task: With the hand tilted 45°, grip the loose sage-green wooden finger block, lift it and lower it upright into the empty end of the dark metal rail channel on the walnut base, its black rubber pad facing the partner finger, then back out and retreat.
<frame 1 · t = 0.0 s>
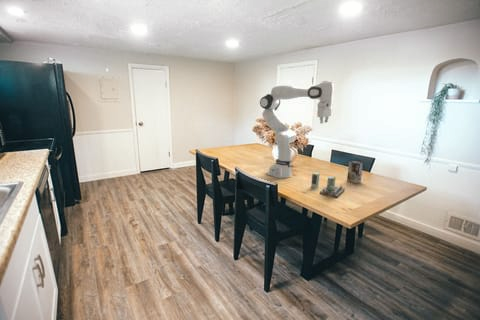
hand: (323, 122, 185), 48 cm above the table, tool pointing down, fingers open, 8 cm apart
rail base: (332, 192, 179), on the table
finger block: (314, 186, 188), on the table
coffee box: (353, 181, 203), on the table
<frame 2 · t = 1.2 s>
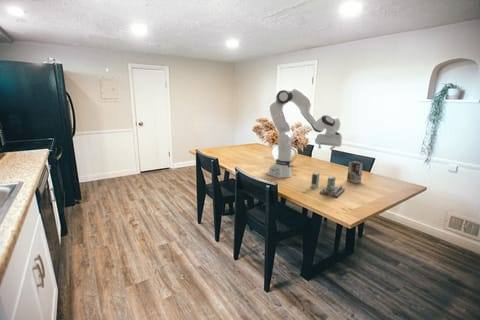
hand: (325, 148, 193), 27 cm above the table, tool tilted 45°, fingers open, 8 cm apart
nothing on the table moved.
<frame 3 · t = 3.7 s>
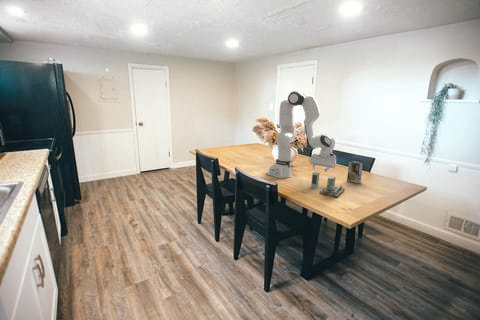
hand: (319, 170, 190), 12 cm above the table, tool tilted 45°, fingers open, 8 cm apart
nothing on the table moved.
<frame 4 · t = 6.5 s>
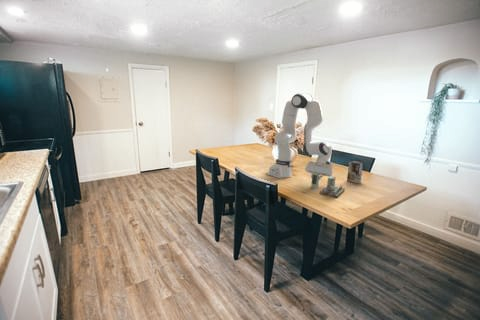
hand: (315, 178, 186), 7 cm above the table, tool tilted 45°, fingers closed on finger block, 4 cm apart
finger block: (314, 186, 188), on the table, touching gripper
everything else where it was.
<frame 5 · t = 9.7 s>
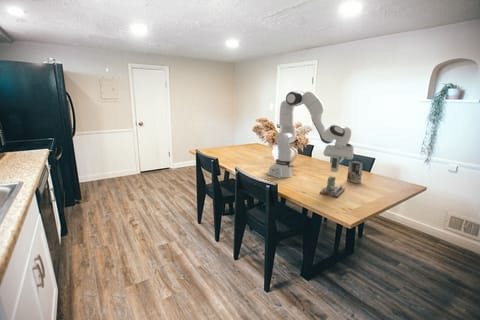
hand: (335, 161, 175), 22 cm above the table, tool tilted 45°, fingers closed on finger block, 4 cm apart
finger block: (334, 171, 177), point 15 cm above the table, touching gripper
everything else where it was.
when the fingers open (10 cm above the table, at t = 13.2 s): finger block drops 1 cm, resting on rail base.
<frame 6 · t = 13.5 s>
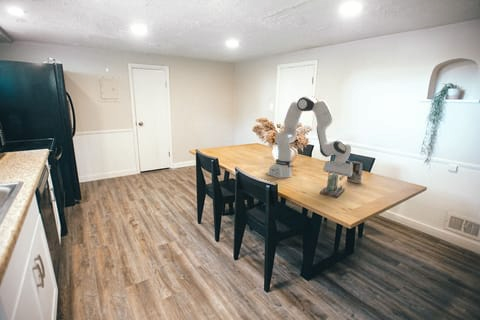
hand: (334, 178, 177), 10 cm above the table, tool tilted 45°, fingers open, 7 cm apart
finger block: (333, 189, 180), point 2 cm above the table, touching rail base
everything else where it was.
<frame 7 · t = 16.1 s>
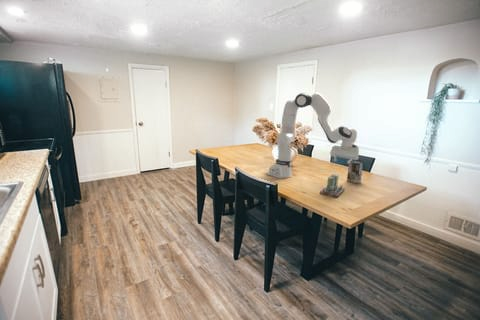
hand: (341, 162, 185), 20 cm above the table, tool tilted 45°, fingers open, 8 cm apart
nothing on the table moved.
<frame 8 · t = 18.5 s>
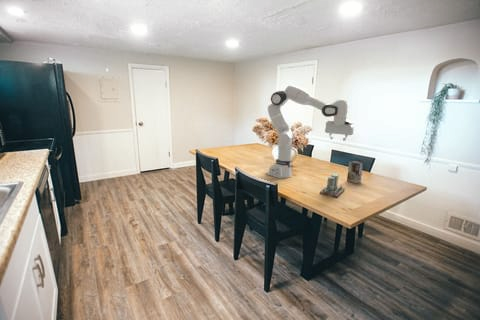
hand: (337, 139, 189), 35 cm above the table, tool pointing down, fingers open, 8 cm apart
nothing on the table moved.
at the end: finger block 0.7 cm from the target spot on the rail base, point 1.5 cm above the rail base's base; finger block tilted 0°; the gripper is holding nothing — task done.
